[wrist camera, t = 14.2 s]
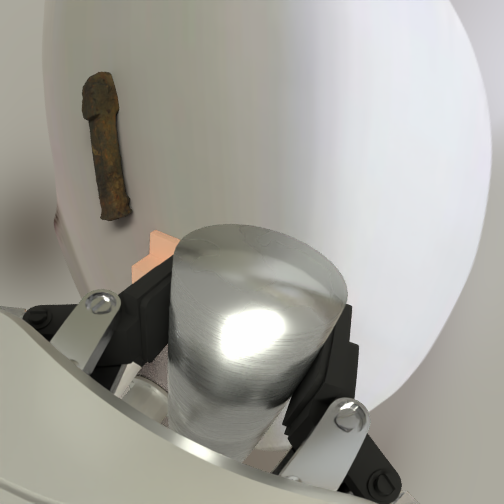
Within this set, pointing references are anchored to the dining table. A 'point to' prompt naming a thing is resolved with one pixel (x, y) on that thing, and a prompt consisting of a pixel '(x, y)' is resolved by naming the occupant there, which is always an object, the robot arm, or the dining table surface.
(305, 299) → the axle
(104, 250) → the dining table surface
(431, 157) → the dining table surface
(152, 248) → the cradle
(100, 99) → the hand tool
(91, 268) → the dining table surface
